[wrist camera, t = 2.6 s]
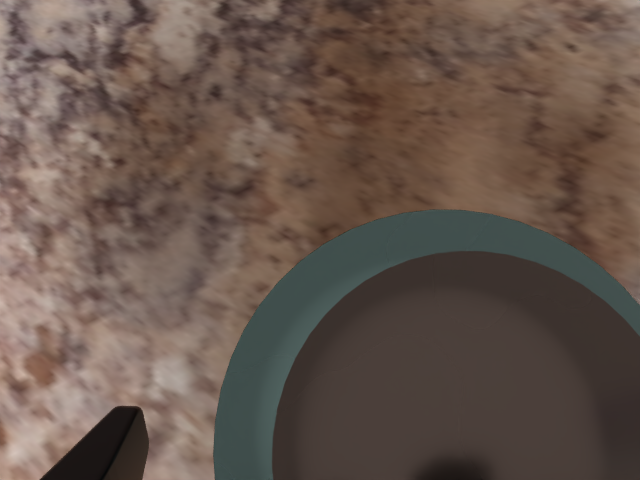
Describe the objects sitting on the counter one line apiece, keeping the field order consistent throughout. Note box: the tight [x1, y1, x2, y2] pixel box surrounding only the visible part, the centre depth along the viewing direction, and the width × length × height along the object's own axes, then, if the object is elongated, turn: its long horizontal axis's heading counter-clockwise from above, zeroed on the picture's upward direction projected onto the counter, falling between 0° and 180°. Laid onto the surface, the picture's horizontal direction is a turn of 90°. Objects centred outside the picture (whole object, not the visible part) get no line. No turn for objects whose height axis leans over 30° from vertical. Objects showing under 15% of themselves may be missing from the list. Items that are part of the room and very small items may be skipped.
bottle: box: [213, 210, 640, 480], centre depth 11 cm, size 5×5×13 cm
